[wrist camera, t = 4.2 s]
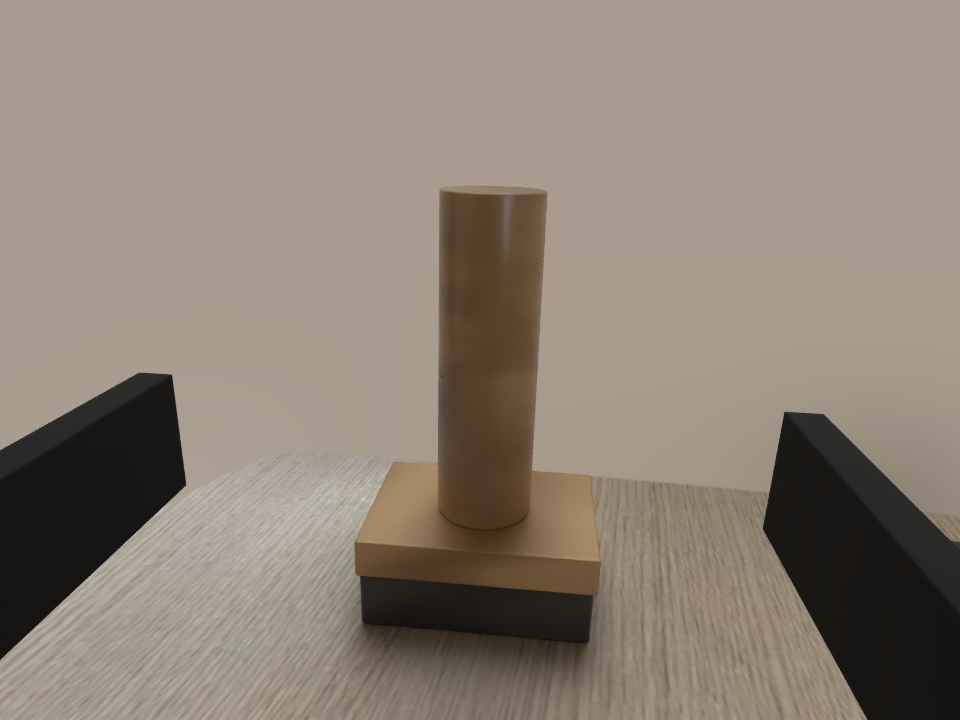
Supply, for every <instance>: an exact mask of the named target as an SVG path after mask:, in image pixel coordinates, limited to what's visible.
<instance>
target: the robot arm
mask: <svg viewBox="0 0 960 720" xmlns="http://www.w3.org/2000/svg"><path fill="white" fill-rule="evenodd" d="M185 486H186V479H185V471H184V464H183V456H182V448H181V441H180V434H179V426H178V418H177V411H176V402H175V395H174V387H173V379H172V375H168V374H153V373H138V374H136V375H134V376H133V377H131V378H129V379H127V380H125V381H124V382H122V383H120V384H118V385H116V386H115V387H113V388H111V389H109V390H107V391H106V392H104V393H102V394H100V395H98V396H97V397H95V398H93V399H91V400H89V401H88V402H86V403H84V404H82V405H80V406H79V407H77V408H75V409H74V410H72V411H70V412H68V413H66V414H64V415H63V416H61V417H59V418H57V419H56V420H54V421H52V422H50V423H48V424H47V425H45V426H43V427H41V428H39V429H38V430H36V431H34V432H32V433H30V434H29V435H27V436H25V437H24V438H21V439H20V440H18V441H16V442H14V443H13V444H11V445H9V446H7V447H5V448H4V449H2V450H0V660H1V659H2V658H3V657H4V656H5V655H6V654H7V653H8V652H9V651H10V650H11V649H12V648H13V647H14V646H16V645H17V644H18V643H19V642H20V641H21V640H22V639H23V638H24V637H25V636H26V635H27V634H28V633H29V632H30V631H32V630H33V629H34V628H35V627H36V626H37V625H38V624H39V623H40V622H41V621H42V620H43V619H44V618H45V617H46V616H47V615H49V614H50V613H51V612H52V611H53V610H54V609H55V608H56V607H57V606H58V605H59V604H60V603H61V602H62V601H63V600H65V599H66V598H67V597H68V596H69V595H70V594H71V593H72V592H73V591H74V590H75V589H76V588H77V587H78V586H79V585H80V584H82V583H83V582H84V581H85V580H86V579H87V578H88V577H89V576H90V575H91V574H92V573H93V572H94V571H95V570H96V569H98V568H99V567H100V566H101V565H102V564H103V563H104V562H105V561H106V560H107V559H108V558H109V557H110V556H111V555H112V554H113V553H115V552H116V551H117V550H118V549H119V548H120V547H121V546H122V545H123V544H124V543H125V542H126V541H127V540H128V539H129V538H131V537H132V536H133V535H134V534H135V533H136V532H137V531H138V530H139V529H140V528H141V527H142V526H143V525H144V524H145V523H146V522H148V521H149V520H150V519H151V518H152V517H153V516H154V515H155V514H156V513H157V512H158V511H159V510H160V509H161V508H162V507H164V506H165V505H166V504H167V503H168V502H169V501H170V500H171V499H172V498H173V497H174V496H175V495H176V494H177V493H178V492H179V491H180V490H182V489H183V488H184V487H185ZM763 530H764V532H765V534H766V536H767V537H768V539H769V541H770V543H771V545H772V547H773V548H774V550H775V552H776V554H777V556H778V557H779V559H780V561H781V563H782V565H783V567H784V568H785V570H786V572H787V574H788V576H789V578H790V579H791V581H792V583H793V585H794V587H795V588H796V590H797V592H798V594H799V596H800V598H801V599H802V601H803V603H804V605H805V607H806V609H807V610H808V612H809V614H810V616H811V618H812V619H813V621H814V623H815V625H816V627H817V629H818V630H819V632H820V634H821V636H822V638H823V640H824V641H825V643H826V645H827V647H828V649H829V650H830V652H831V654H832V656H833V658H834V660H835V661H836V663H837V665H838V667H839V669H840V671H841V672H842V674H843V676H844V678H845V680H846V681H847V683H848V685H849V687H850V689H851V691H852V692H853V694H854V696H855V698H856V700H857V702H858V703H859V705H860V707H861V709H862V711H863V712H864V714H865V716H866V718H867V720H960V542H955V541H950V540H949V539H948V538H947V537H946V536H945V535H944V534H943V533H942V532H941V531H940V530H939V529H938V528H937V527H936V526H935V525H934V524H933V523H932V522H931V521H930V520H929V519H928V518H927V517H926V516H925V515H924V514H923V513H922V512H921V511H920V510H919V509H918V508H917V507H916V506H915V505H914V504H913V503H912V502H911V501H910V500H909V499H908V498H907V497H906V496H905V495H904V494H903V493H902V492H901V491H900V490H899V489H898V488H897V487H896V486H895V485H894V484H893V483H892V482H891V481H890V480H889V479H888V478H887V477H886V476H885V475H884V474H883V473H882V472H881V471H880V470H879V469H878V468H877V467H876V466H875V465H874V464H873V463H872V462H871V461H870V460H869V459H868V458H867V457H866V456H865V455H864V454H863V453H862V452H861V451H860V450H859V449H858V448H857V447H856V446H855V445H854V444H853V443H852V442H851V441H850V440H849V439H848V438H847V437H846V436H845V435H844V434H843V433H842V432H841V431H840V430H839V429H838V428H837V427H836V426H835V425H834V424H833V423H832V422H831V421H830V420H829V419H828V418H827V417H826V416H825V415H824V414H811V413H795V412H784V418H783V423H782V428H781V434H780V439H779V444H778V450H777V455H776V461H775V466H774V471H773V477H772V482H771V488H770V493H769V499H768V504H767V509H766V515H765V520H764V526H763Z"/></svg>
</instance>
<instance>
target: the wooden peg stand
mask: <svg viewBox="0 0 960 720" xmlns="http://www.w3.org/2000/svg"><path fill="white" fill-rule="evenodd" d="M546 206H547V192H546V191H544V190H540V189H533V188H522V187H504V186H502V187H501V186H451V187H444V188H441V189H440V206H439V208H440V211H439V215H440V216H439V380H438V382H439V383H438V387H439V388H438V465H434V464H420V463H405V462H393V464H392V466H391V468H390V470H389V472H388V474H387V476H386V478H385V480H384V482H383V484H382V486H381V488H380V491H379V493H378V495H377V497H376V499H375V501H374V503H373V505H372V507H371V509H370V511H369V513H368V515H367V517H366V519H365V521H364V523H363V526H362V528H361V530H360V532H359V534H358V536H357V538H356V540H355V542H354V545H355V570H356V575H358V576H360V583H361V609H362V622H364V623H375V624H386V625H397V626H408V627H419V628H430V629H441V630H452V631H463V632H474V633H485V634H496V635H507V636H518V637H529V638H540V639H551V640H562V641H573V642H584V643H587V642H588V641H589V637H590V627H591V616H592V606H593V595H594V596H596V595H597V594H598V585H599V575H600V565H601V560H600V552H599V544H598V536H597V528H596V520H595V512H594V504H593V496H592V488H591V480H590V476H589V475H579V474H564V473H550V472H535V471H532V459H533V440H534V423H535V404H536V386H537V369H538V351H539V331H540V315H541V298H542V297H541V296H542V280H543V262H544V260H543V259H544V244H545V226H546V225H545V224H546V208H547V207H546Z"/></svg>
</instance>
